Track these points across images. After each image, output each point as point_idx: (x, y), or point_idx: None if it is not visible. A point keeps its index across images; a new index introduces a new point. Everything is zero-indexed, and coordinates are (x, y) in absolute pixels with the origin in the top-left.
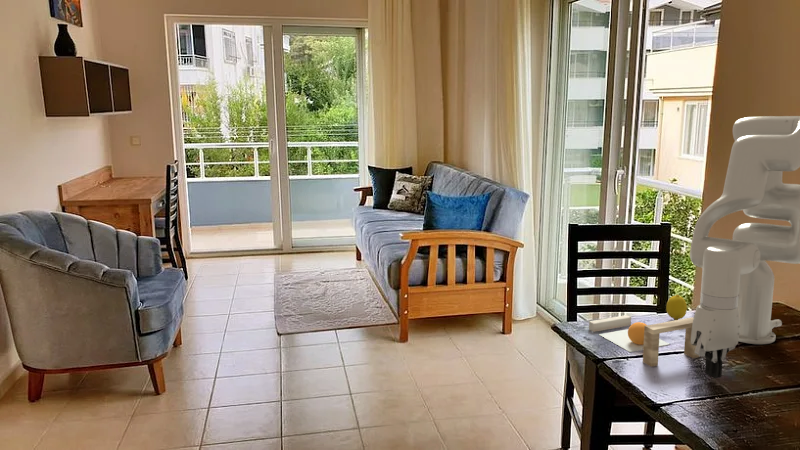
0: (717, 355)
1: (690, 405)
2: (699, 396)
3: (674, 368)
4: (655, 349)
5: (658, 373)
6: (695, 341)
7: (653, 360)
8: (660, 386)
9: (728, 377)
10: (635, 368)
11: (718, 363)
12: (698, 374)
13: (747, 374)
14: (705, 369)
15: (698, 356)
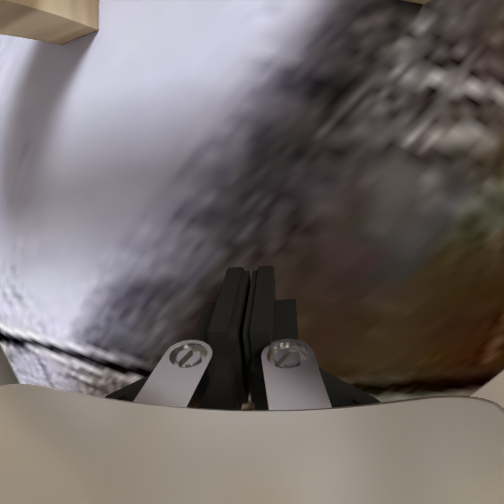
0: (267, 408)
1: (66, 375)
2: (114, 355)
3: (160, 74)
4: (8, 21)
5: (51, 121)
6: (31, 399)
7: (50, 34)
8: (16, 243)
9: (375, 271)
10: (4, 60)
11: (237, 407)
12: (244, 186)
13: (474, 273)
14: (226, 277)
15: (419, 1)
